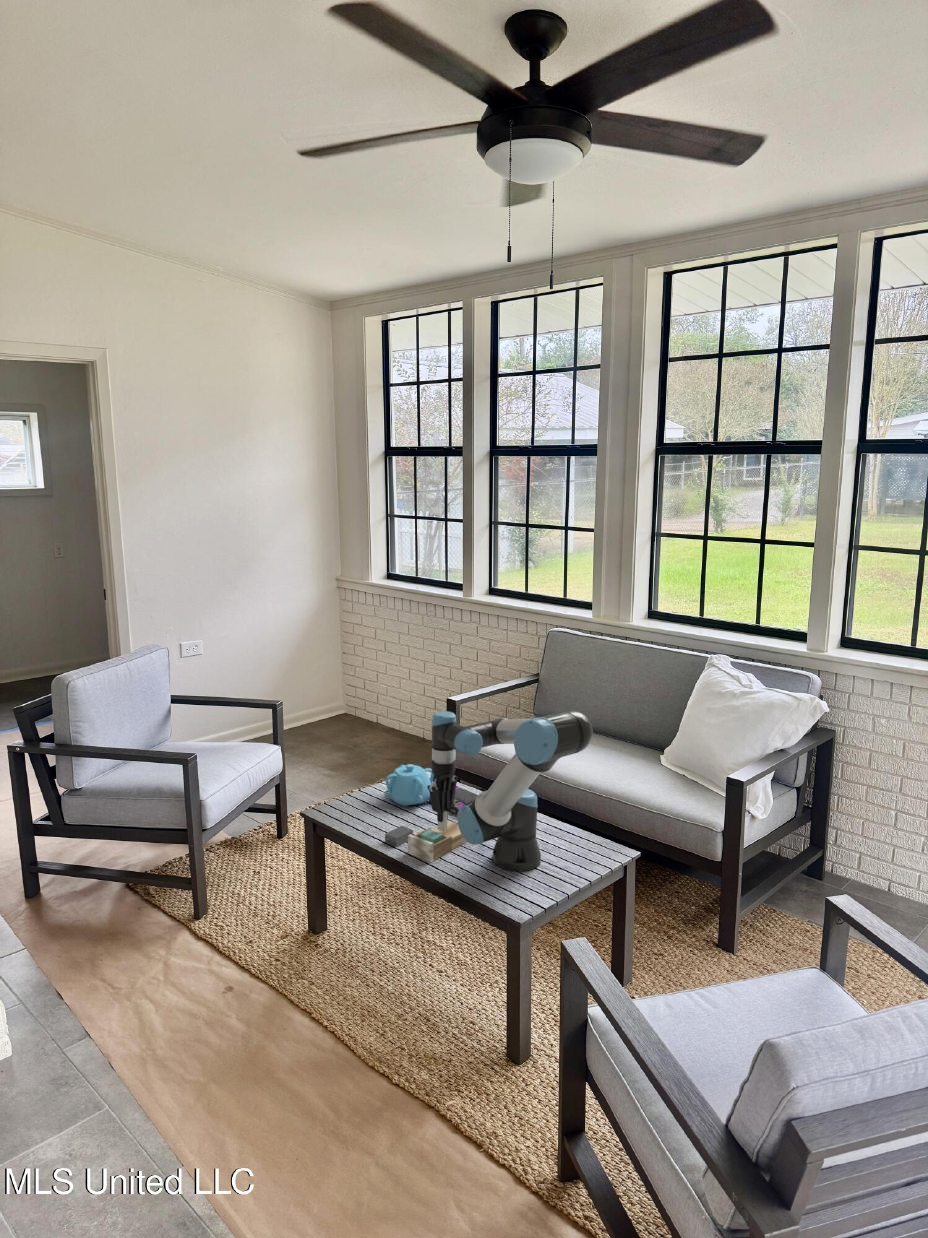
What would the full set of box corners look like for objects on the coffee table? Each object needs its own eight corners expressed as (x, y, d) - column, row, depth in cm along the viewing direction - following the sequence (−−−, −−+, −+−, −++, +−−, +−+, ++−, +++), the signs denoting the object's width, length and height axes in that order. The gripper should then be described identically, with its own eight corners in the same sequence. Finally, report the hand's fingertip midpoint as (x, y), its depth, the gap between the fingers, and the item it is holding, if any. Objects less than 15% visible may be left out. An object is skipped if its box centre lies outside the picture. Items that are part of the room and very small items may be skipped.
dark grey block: (412, 838, 266) (413, 830, 265) (396, 847, 260) (396, 838, 259) (401, 834, 269) (401, 825, 268) (385, 842, 263) (385, 833, 262)
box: (428, 804, 296) (464, 821, 281) (428, 795, 295) (464, 811, 281) (456, 794, 305) (493, 809, 291) (456, 785, 304) (493, 800, 290)
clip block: (442, 834, 257) (433, 839, 254) (442, 850, 258) (433, 855, 255) (429, 829, 260) (420, 834, 257) (429, 845, 261) (420, 850, 258)
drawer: (471, 840, 266) (471, 823, 264) (430, 862, 250) (431, 844, 249) (448, 831, 271) (448, 815, 270) (407, 853, 256) (408, 835, 255)
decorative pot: (401, 789, 307) (401, 754, 305) (439, 796, 301) (439, 761, 298) (379, 804, 293) (379, 768, 290) (418, 812, 286) (419, 776, 284)
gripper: (447, 752, 264) (446, 820, 268) (420, 763, 254) (420, 833, 258) (465, 757, 259) (464, 826, 263) (439, 768, 249) (438, 840, 253)
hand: (442, 829), depth 261 cm, fingers closed
